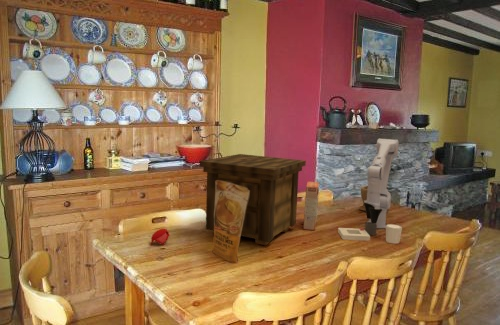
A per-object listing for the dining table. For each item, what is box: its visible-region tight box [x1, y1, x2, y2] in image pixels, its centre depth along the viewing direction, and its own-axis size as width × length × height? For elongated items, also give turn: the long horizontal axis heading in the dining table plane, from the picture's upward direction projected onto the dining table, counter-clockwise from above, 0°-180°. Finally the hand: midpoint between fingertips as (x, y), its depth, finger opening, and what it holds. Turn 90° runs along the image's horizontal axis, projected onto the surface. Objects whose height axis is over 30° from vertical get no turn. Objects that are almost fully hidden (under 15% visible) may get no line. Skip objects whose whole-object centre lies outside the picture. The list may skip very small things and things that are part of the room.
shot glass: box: [385, 223, 403, 245], centre depth 176 cm, size 7×7×7 cm
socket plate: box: [337, 227, 371, 242], centre depth 182 cm, size 11×12×3 cm
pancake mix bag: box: [212, 180, 250, 264], centre depth 150 cm, size 7×19×28 cm, turn 38°
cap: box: [150, 228, 170, 246], centre depth 163 cm, size 8×6×6 cm
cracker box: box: [302, 181, 320, 231], centre depth 194 cm, size 14×6×21 cm, turn 168°
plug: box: [365, 221, 378, 236], centre depth 186 cm, size 4×4×5 cm
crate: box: [199, 153, 307, 246], centre depth 181 cm, size 35×35×33 cm
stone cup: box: [359, 185, 390, 214], centre depth 226 cm, size 15×12×15 cm
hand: (371, 220), depth 186 cm, fingers open, 7 cm apart
